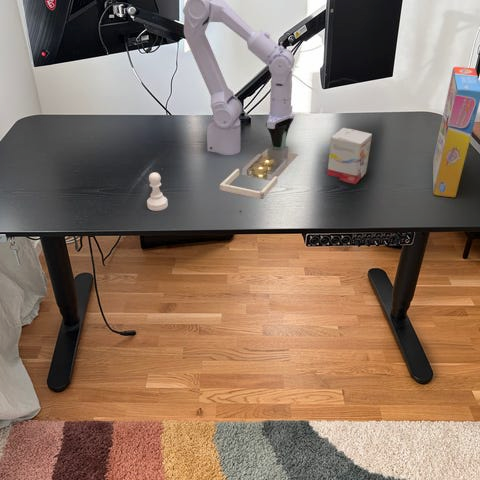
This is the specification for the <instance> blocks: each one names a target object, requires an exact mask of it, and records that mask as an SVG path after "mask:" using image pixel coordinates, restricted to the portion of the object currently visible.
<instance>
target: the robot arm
mask: <svg viewBox="0 0 480 480" xmlns="http://www.w3.org/2000/svg"><path fill="white" fill-rule="evenodd" d="M182 13H183V35H184V37H185V40H186V42H187V44H188V45H187V46H188V47H189V49H190V52H191V54H192V56H193V59H194V61H195V63H196V65H197V68H198V70H199V72H200V75H201V77H202V79H203V81H204V83H205V87H206V88H207V90H208V93H209V95H210V108H211V110H212V119H213V121H210V123H209V124H208V126H207V130H206V144H207V145H206V146H207V148H206V149H207V152H213V153H216V154H220V155H223V156H232V155H237V154H239V153H240V152H241V121H240V118H239V116H241V114H242V112H243V105H242V102H241V101H240V100H239V99H238V98H237V97H236V96H235V94H234V92H233V90H231V89H230V88H229V86H228V85H227V82H226V80H225V78H224V76H223V73H222V70H221V68H220V66H219V64H218V61H217V59H216V56H215V53H214V51H213V49H212V47H211V44H210V42H209V40H208V37H207V35H206V30H207V28H208V26H209V23H222V24H224V25H225V26H226V27H227V28H229V29H230V30H231V31H232V32H234V33H235V34H237V35H238V37H240V38H241V39H243V40H244V41H245V42H246V45H247V49H248V51H250V52H251V53H252V54H253V55H254V56H256V58H258V59H259V60H260V61H261V62H262V63H263V64H265V65H267V66H268V70H269V72H270V74H271V80H270V98H269V99H270V102H269V113H268V119H267V121H266V123H265V127H266V128H267V130H268V132H269V135H270V138H271V144H273V147H280V146H281V143H282V138H283V133H284V131H286V138H287V137H288V134H289V130H290V127H291V124H293V121H294V118H295V114H294V113H293V105H292V89H293V79H292V78H293V71H292V69H293V68H294V65H295V62H296V60H295V56H294V54H293V53H292V51H291V50H290V49H287V48H285V47H284V46H283V45H279V44H278V43H277V42H276V41H274V40H273V39H272V38H271V37H270V36H271V34H270V33H269V32H268V31H266V32H264V31H263V30H255V29H254V28H252V27H251V26H250V25H249V24H248V23H247V22H246V20H244V19H243V18H242V17H241V16H240V15H239V14H238V13H237V12H236V11H235V10H233V8H232V7H230V6H229V4H227V2H226V1H225V0H186V2H185V4H184V7H183V9H182Z"/></svg>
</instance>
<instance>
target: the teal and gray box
mask: <svg viewBox="0 0 480 480" xmlns="http://www.w3.org/2000/svg"><path fill="white" fill-rule="evenodd" d="M286 141H287V137H286V131H284V133H283V138H282V143H281V146H280V147H273V144H272V143H271V144H272V145H271V146H269V148H267V149H268V153H267V156H269V157H273V158H274V159H276V160H281V159H282V158H285V157H286V156H287V155H288V153H289V146H287V142H286Z"/></svg>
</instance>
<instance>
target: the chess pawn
mask: <svg viewBox="0 0 480 480" xmlns="http://www.w3.org/2000/svg"><path fill="white" fill-rule="evenodd" d="M161 179H162V177H161V175H160V173H158V172H155V171H154V172H151V173H150V174H149V176H148V180H149V182H150V183H149V186H150V188H152V191H151V193H150V197H148V199H147V200H146V205H147V208H148V210H150V211H154V212H157V211H158V212H159V211H163V210H166V209H167V208H168V205H169V204H168V198H167V197H166V196H165V195H163V192H162V191H161V190H160V187H161V186H162V183H161Z"/></svg>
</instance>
